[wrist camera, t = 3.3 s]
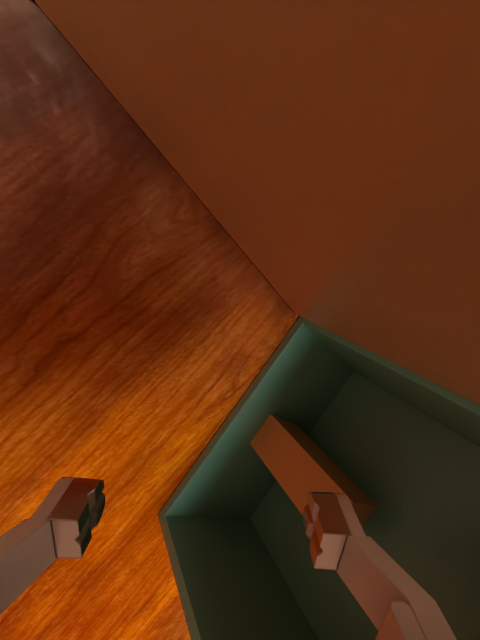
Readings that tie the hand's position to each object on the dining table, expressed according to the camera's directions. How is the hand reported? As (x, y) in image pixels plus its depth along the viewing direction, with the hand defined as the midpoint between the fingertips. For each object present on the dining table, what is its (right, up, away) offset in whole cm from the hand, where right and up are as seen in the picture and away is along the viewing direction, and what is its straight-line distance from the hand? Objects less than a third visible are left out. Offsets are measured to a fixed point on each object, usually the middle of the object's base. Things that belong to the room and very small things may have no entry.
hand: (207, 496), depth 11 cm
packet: (+6, -8, +23) cm, 25 cm away
